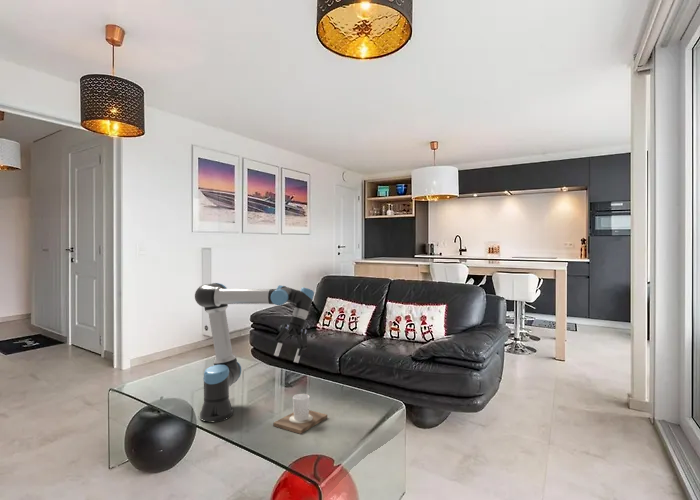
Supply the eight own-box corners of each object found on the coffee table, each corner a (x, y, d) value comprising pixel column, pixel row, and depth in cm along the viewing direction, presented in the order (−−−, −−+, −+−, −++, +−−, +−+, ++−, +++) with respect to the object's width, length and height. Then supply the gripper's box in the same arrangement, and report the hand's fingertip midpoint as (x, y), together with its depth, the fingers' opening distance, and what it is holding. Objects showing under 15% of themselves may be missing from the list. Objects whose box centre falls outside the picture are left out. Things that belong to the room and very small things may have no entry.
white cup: (310, 414, 182) (310, 393, 183) (309, 421, 175) (309, 399, 175) (293, 415, 182) (293, 393, 182) (291, 421, 174) (291, 399, 175)
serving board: (300, 433, 166) (300, 430, 166) (273, 425, 174) (273, 422, 174) (327, 417, 183) (327, 414, 183) (301, 411, 191) (301, 407, 191)
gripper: (322, 324, 192) (309, 366, 186) (286, 315, 206) (273, 354, 200) (313, 320, 186) (299, 364, 180) (277, 311, 200) (263, 351, 194)
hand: (285, 359), depth 190 cm, fingers open, 13 cm apart
